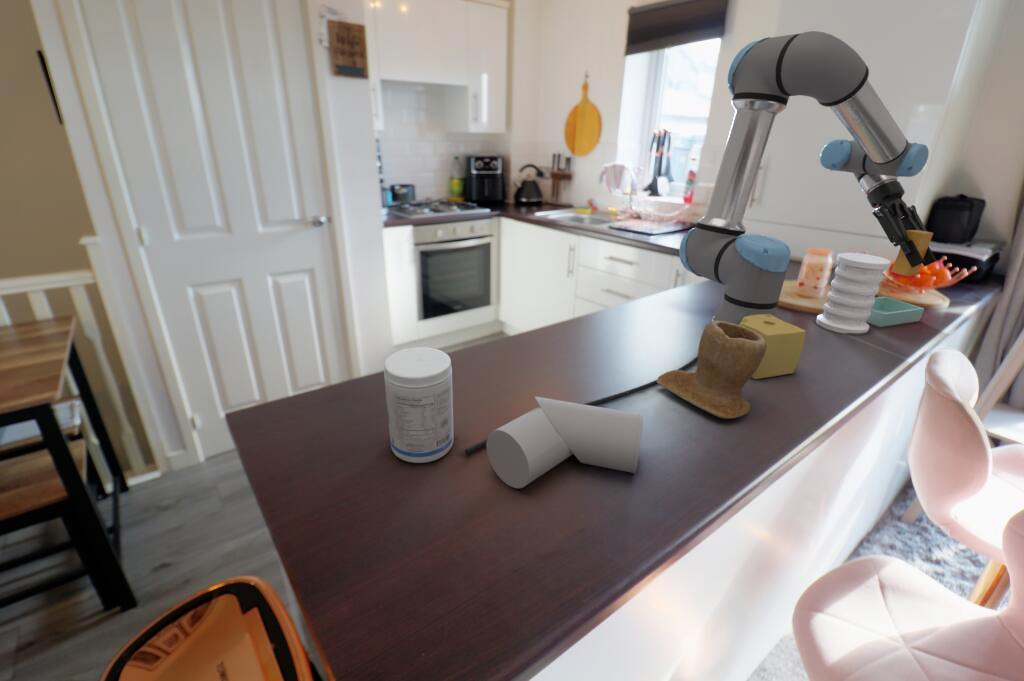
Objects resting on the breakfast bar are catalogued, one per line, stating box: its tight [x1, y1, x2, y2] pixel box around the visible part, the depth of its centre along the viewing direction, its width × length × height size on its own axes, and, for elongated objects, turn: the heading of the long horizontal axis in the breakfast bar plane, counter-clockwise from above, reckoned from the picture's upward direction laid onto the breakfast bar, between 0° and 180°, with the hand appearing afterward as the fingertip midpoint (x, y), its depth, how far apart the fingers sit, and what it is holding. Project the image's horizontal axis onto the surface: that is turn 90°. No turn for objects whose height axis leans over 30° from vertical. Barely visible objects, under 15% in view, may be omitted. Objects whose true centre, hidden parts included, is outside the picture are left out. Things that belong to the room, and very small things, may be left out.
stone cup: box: [656, 321, 766, 420], centre depth 85 cm, size 15×12×15 cm
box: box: [866, 295, 925, 328], centre depth 129 cm, size 15×10×4 cm
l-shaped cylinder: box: [485, 396, 644, 489], centre depth 68 cm, size 18×11×20 cm
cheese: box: [739, 314, 807, 380], centre depth 99 cm, size 10×11×10 cm
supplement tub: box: [383, 346, 454, 464], centre depth 70 cm, size 10×10×15 cm
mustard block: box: [891, 230, 934, 277], centre depth 124 cm, size 4×4×11 cm
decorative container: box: [815, 252, 892, 335], centre depth 121 cm, size 12×12×18 cm
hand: (924, 264), depth 122 cm, fingers closed on mustard block, 4 cm apart
